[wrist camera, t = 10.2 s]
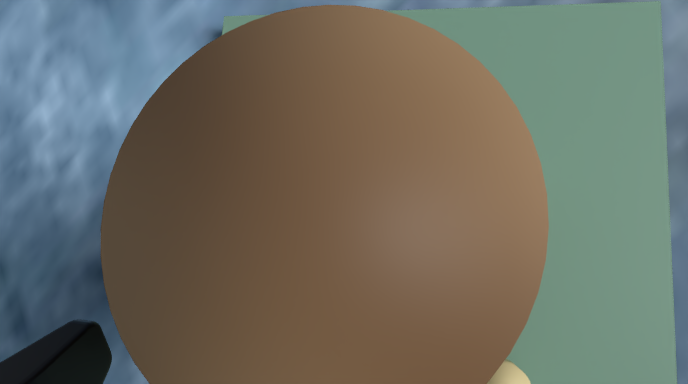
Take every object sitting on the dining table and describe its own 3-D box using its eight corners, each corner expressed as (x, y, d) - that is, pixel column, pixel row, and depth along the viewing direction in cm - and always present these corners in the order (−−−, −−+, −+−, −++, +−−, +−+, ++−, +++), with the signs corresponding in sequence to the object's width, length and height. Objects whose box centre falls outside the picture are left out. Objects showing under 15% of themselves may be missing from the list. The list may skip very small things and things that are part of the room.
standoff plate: (675, 653, 16) (734, 745, 12) (167, 557, 19) (105, 609, 16) (650, 16, 20) (690, -44, 16) (233, 28, 23) (195, -20, 20)
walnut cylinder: (430, 392, 18) (363, 579, 5) (307, 300, 19) (22, 272, 7) (515, 262, 18) (647, 141, 5) (389, 182, 19) (264, -59, 7)
